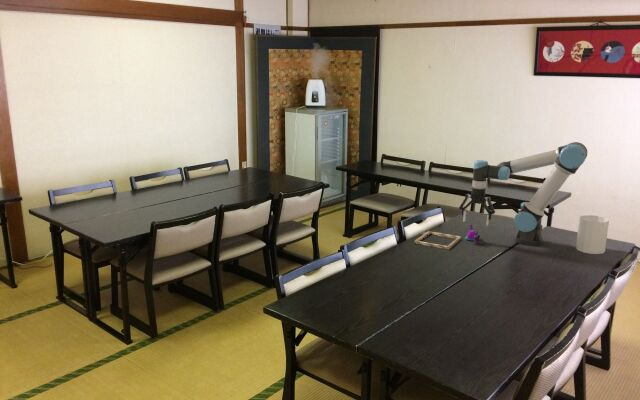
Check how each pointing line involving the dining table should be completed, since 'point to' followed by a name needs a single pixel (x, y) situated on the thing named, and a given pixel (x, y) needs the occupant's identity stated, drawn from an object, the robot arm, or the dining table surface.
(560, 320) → the dining table surface
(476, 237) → the toy
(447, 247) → the pocket frame
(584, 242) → the container
